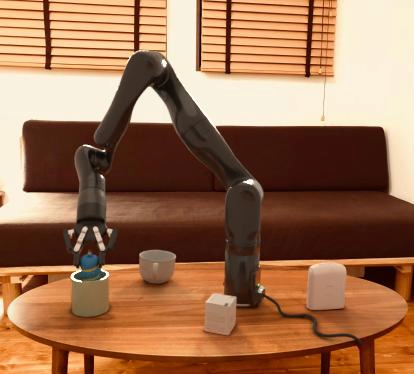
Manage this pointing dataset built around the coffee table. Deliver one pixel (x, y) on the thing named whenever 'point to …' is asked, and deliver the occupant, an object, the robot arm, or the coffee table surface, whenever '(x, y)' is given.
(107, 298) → the green cup
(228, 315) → the product carton
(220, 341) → the coffee table surface
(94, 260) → the ornament
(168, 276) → the teacup
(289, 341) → the coffee table surface
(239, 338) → the coffee table surface
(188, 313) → the coffee table surface
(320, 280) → the photo printer
